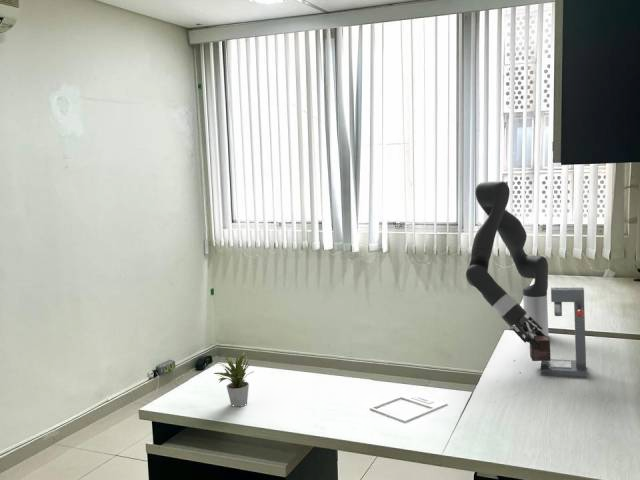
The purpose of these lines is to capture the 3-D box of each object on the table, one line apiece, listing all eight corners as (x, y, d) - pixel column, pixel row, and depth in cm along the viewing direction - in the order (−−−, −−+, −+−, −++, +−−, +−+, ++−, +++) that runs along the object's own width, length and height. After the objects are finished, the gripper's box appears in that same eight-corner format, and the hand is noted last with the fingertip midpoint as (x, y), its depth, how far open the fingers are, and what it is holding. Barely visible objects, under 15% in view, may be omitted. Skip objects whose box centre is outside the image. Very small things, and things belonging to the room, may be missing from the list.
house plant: (225, 394, 202) (221, 347, 200) (265, 394, 199) (261, 346, 198) (210, 411, 188) (206, 359, 186) (253, 410, 185) (249, 359, 184)
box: (550, 361, 203) (550, 340, 202) (532, 361, 204) (531, 340, 203) (548, 356, 209) (547, 335, 208) (529, 356, 210) (529, 335, 209)
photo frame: (447, 402, 179) (405, 420, 168) (447, 406, 180) (405, 424, 169) (411, 391, 191) (369, 407, 180) (411, 394, 191) (369, 410, 180)
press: (541, 364, 211) (538, 285, 208) (585, 366, 205) (583, 285, 203) (540, 380, 195) (537, 295, 192) (587, 383, 190) (585, 295, 187)
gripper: (509, 307, 204) (545, 344, 198) (523, 299, 215) (557, 333, 209) (494, 321, 207) (529, 358, 201) (509, 312, 219) (542, 347, 213)
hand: (543, 345), depth 205 cm, fingers closed on box, 8 cm apart
